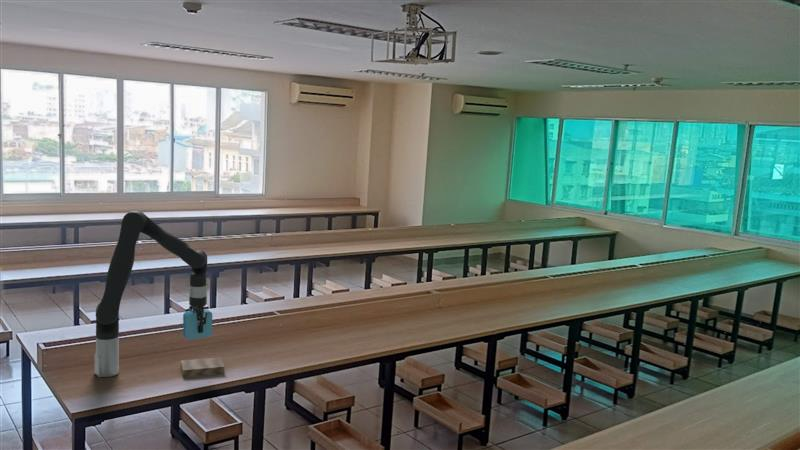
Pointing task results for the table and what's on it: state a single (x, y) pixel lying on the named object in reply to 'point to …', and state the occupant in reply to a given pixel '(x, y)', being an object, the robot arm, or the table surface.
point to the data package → (196, 325)
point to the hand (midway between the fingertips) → (197, 330)
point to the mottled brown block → (202, 367)
